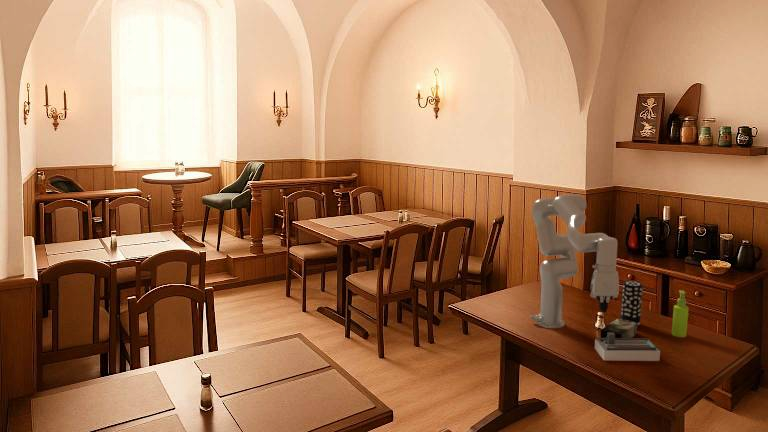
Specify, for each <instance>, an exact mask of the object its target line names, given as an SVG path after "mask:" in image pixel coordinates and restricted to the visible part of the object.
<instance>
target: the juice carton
mask: <svg viewBox="0 0 768 432" xmlns="http://www.w3.org/2000/svg"><path fill="white" fill-rule="evenodd" d="M637 328H638V327H637V323H635V322H630V321H629V320H621V318H616V319H615V320H613V321H611V322H609V324H607V325H606V326H604V327H603V328H601V330H600V335H599V339H600V338H607V332H613V333H614V334H615V335H618V336H619V337H618V338H634V336H635V335H637V334H638V330H637Z"/></svg>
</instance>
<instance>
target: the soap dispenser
mask: <svg viewBox="0 0 768 432" xmlns="http://www.w3.org/2000/svg"><path fill="white" fill-rule="evenodd" d="M678 292H679V298H677V303H676V304H675V305H673V313H672V322H671V323H672V324H671V335H672V336H673V337H677V338H686V337H687V331H688V321H689V320H688V319H689V312H690V311H689V309H690V308H689V306H687V305H686V304H687V299H686V298H685V295H686V291H685V290H680V289H679V290H678Z"/></svg>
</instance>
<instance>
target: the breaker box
mask: <svg viewBox="0 0 768 432" xmlns="http://www.w3.org/2000/svg"><path fill="white" fill-rule="evenodd" d="M594 349H595V350H596V352H597V354H598V355H599V356H600V357H601V358H602V360H603V361H614V362H615V361H623V362H624V361H625V362H626V361H629V362H634V361H635V362H637V361H638V362H639V361H640V362H644V361H645V362H659V361H660V359H661V357H660V356H661V351H660V350H659V348H657V347H656V346H655V345H654V344H653V343H652V342H651V341H650V340H649V339H648V338H643V337H642V338H634V337H632V338H619V337H615V344H607V337H605V338H600V337H599V339H594Z"/></svg>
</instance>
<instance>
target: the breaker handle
mask: <svg viewBox="0 0 768 432" xmlns="http://www.w3.org/2000/svg"><path fill="white" fill-rule="evenodd" d="M606 338H607V344H615V338H616V334H614V333H613V332H607V336H606Z"/></svg>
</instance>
